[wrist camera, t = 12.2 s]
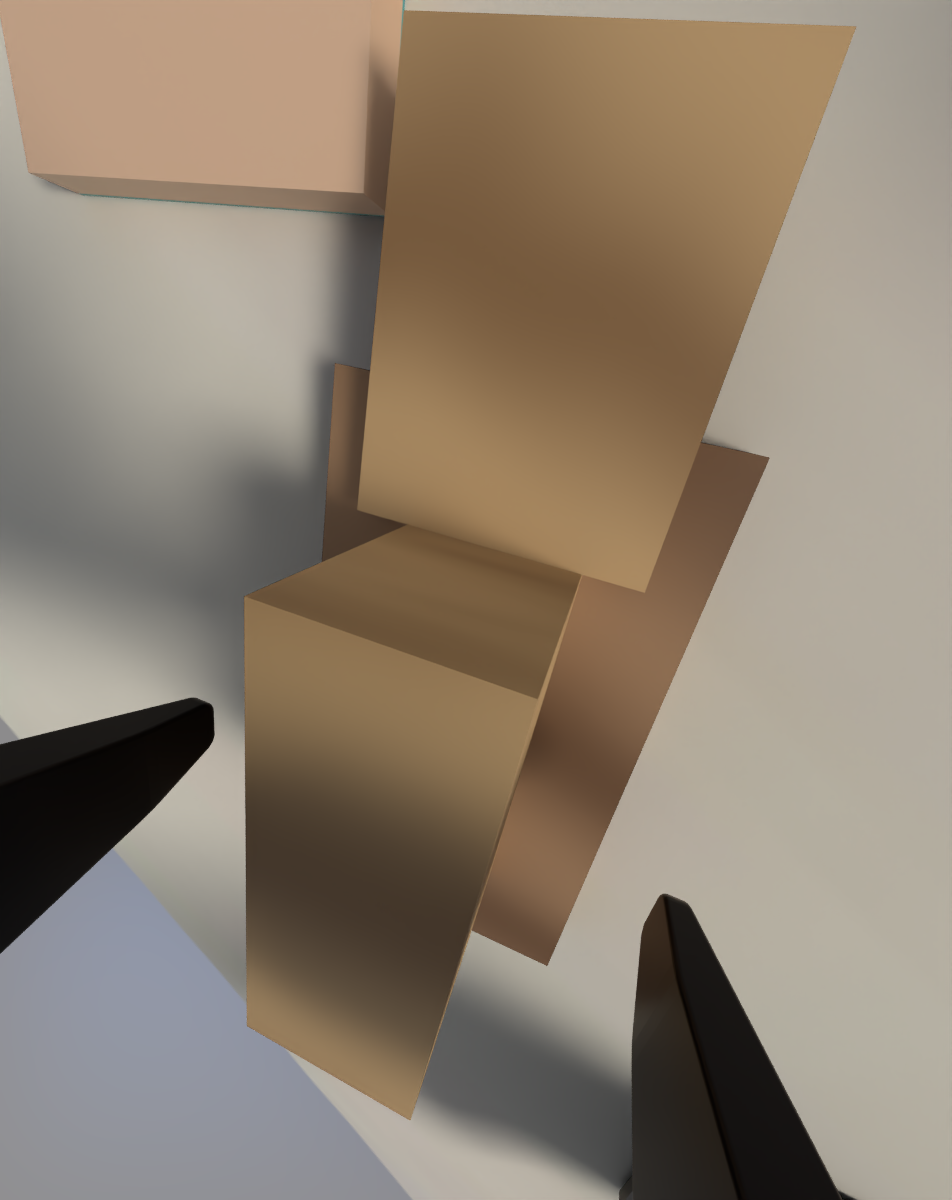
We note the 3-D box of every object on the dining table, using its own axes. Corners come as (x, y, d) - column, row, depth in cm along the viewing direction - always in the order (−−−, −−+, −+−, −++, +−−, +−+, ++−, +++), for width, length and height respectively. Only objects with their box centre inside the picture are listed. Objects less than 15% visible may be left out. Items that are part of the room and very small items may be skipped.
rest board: (553, 924, 14) (547, 966, 13) (325, 821, 16) (302, 850, 15) (752, 453, 9) (770, 457, 7) (366, 369, 10) (334, 363, 9)
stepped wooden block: (529, 890, 12) (469, 1154, 8) (343, 808, 13) (199, 998, 9) (830, 74, 6) (1426, -997, 1) (427, 51, 7) (73, -584, 3)
